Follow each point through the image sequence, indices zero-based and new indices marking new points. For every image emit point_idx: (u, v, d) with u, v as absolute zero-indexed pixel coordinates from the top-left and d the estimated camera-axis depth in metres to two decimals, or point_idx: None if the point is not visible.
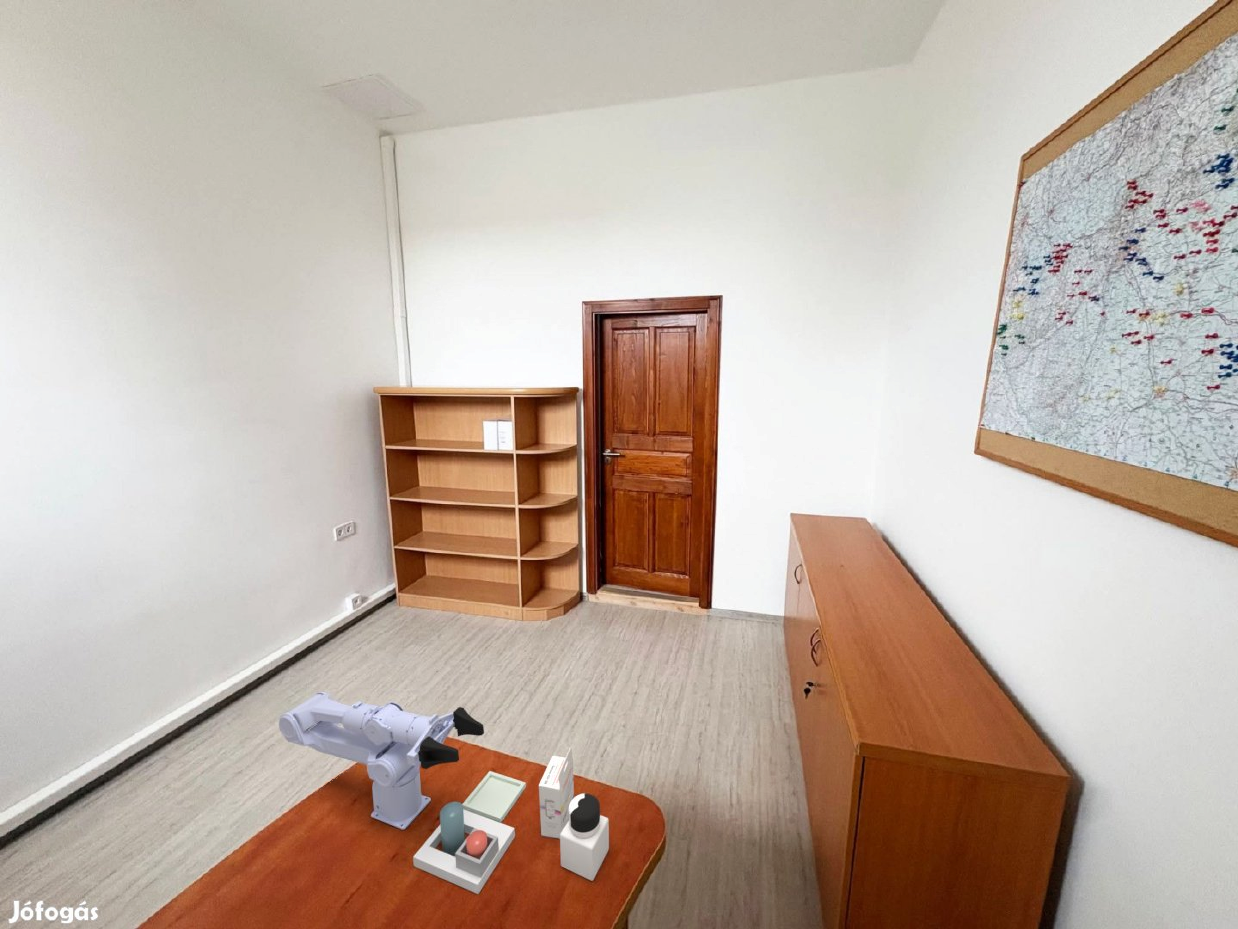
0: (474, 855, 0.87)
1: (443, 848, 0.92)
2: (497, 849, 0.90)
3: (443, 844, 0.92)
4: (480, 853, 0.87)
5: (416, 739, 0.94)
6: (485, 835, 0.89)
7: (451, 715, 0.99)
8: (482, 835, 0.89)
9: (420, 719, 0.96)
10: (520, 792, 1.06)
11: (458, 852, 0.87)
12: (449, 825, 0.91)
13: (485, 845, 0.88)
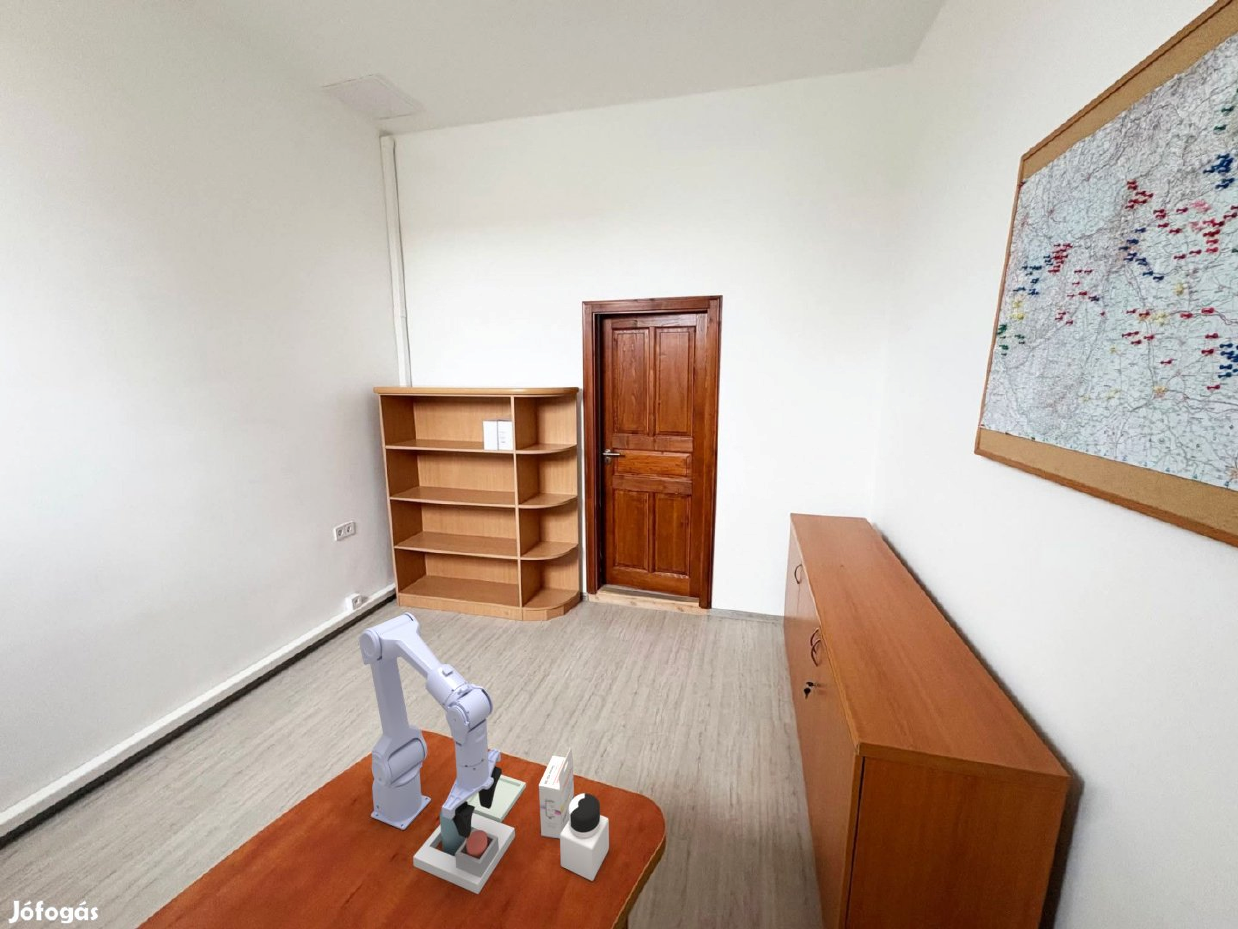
0: (474, 855, 0.87)
1: (443, 848, 0.92)
2: (497, 849, 0.90)
3: (443, 844, 0.92)
4: (480, 853, 0.87)
5: (465, 779, 0.84)
6: (485, 835, 0.89)
7: None
8: (482, 835, 0.89)
9: (484, 766, 0.85)
10: (520, 792, 1.06)
11: (458, 852, 0.87)
12: (449, 825, 0.91)
13: (485, 845, 0.88)
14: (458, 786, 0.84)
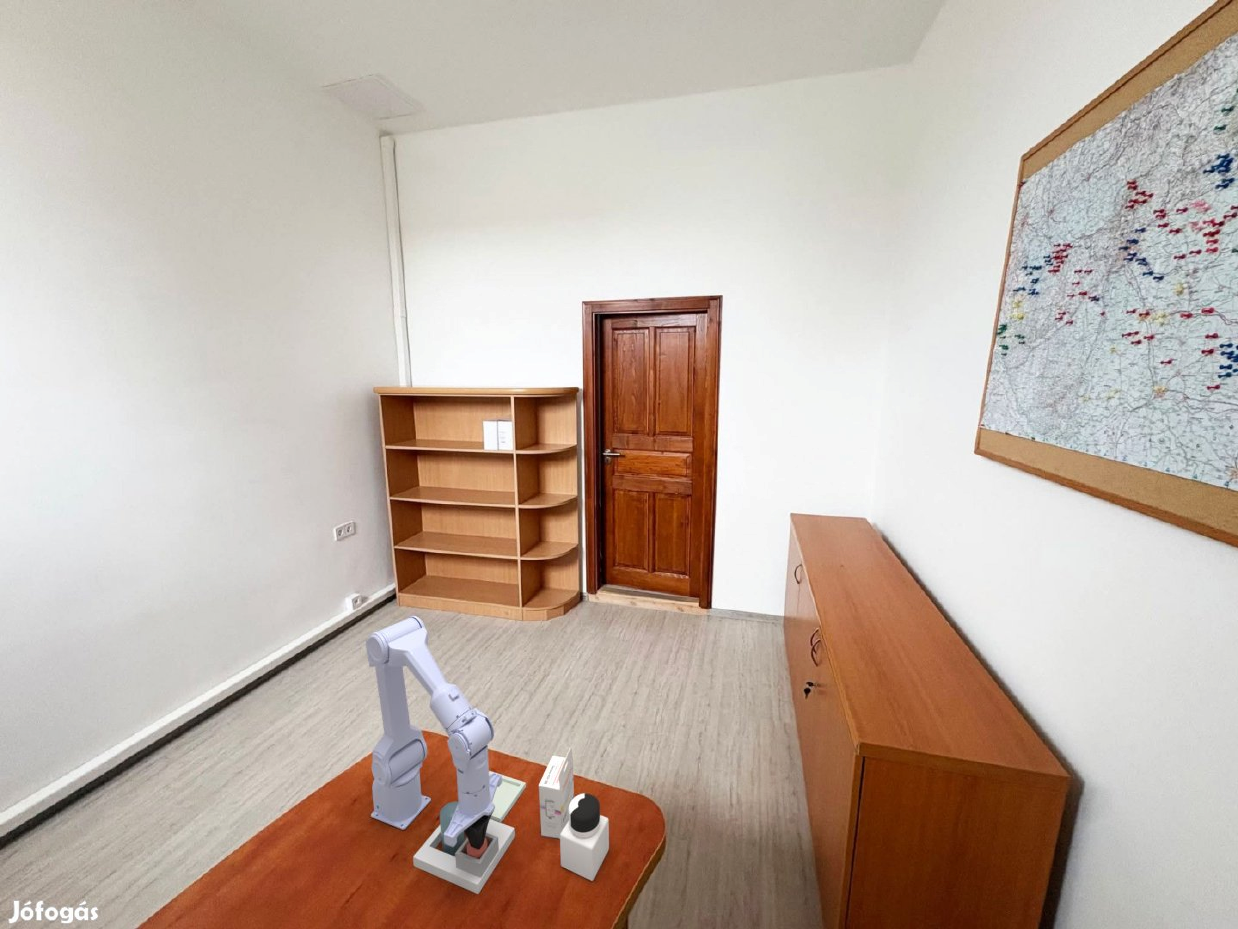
0: None
1: (443, 848, 0.92)
2: (497, 849, 0.90)
3: (443, 844, 0.92)
4: None
5: (466, 806, 0.84)
6: (485, 841, 0.89)
7: None
8: None
9: (486, 792, 0.86)
10: (520, 792, 1.06)
11: (458, 852, 0.87)
12: None
13: None
14: (459, 812, 0.85)
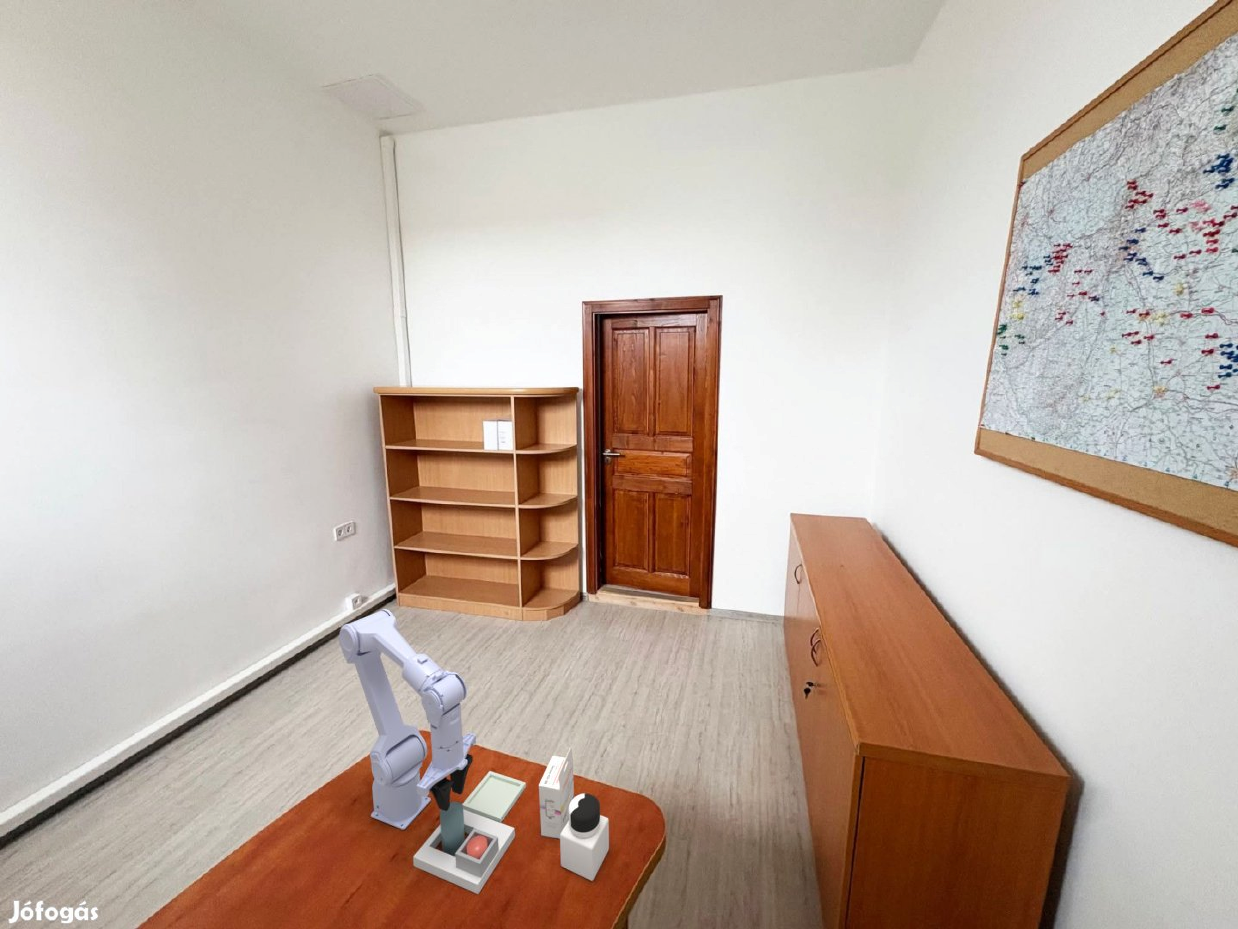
0: None
1: (443, 848, 0.92)
2: (497, 849, 0.90)
3: (443, 844, 0.92)
4: None
5: (439, 760, 0.88)
6: (485, 841, 0.89)
7: None
8: (482, 841, 0.89)
9: (458, 748, 0.89)
10: (520, 792, 1.06)
11: (458, 852, 0.87)
12: (449, 825, 0.91)
13: None
14: (433, 767, 0.89)
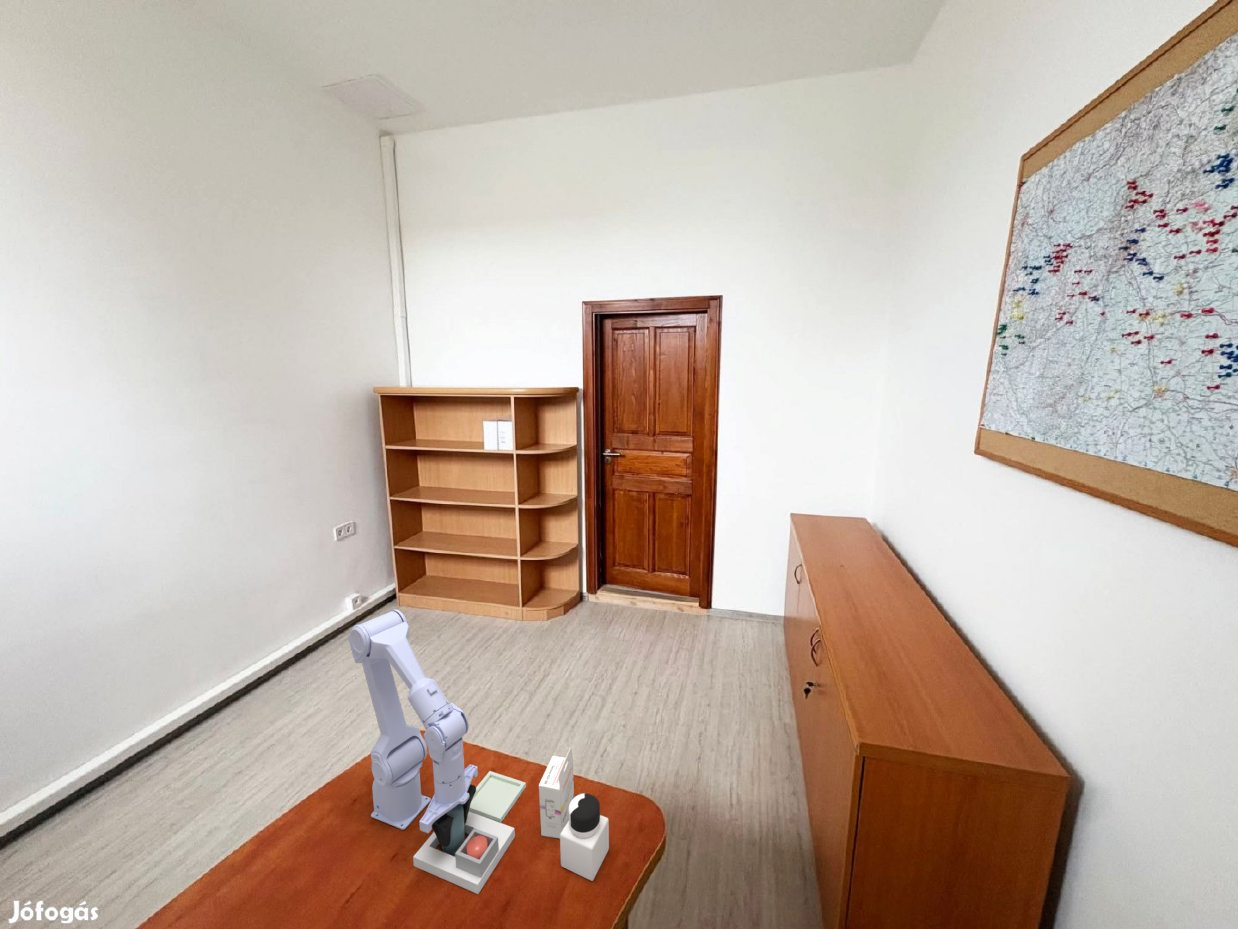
0: None
1: (443, 848, 0.92)
2: (497, 849, 0.90)
3: None
4: None
5: (442, 795, 0.89)
6: (485, 841, 0.89)
7: None
8: (482, 841, 0.89)
9: (460, 782, 0.90)
10: (520, 792, 1.06)
11: (458, 852, 0.87)
12: None
13: None
14: (435, 801, 0.90)
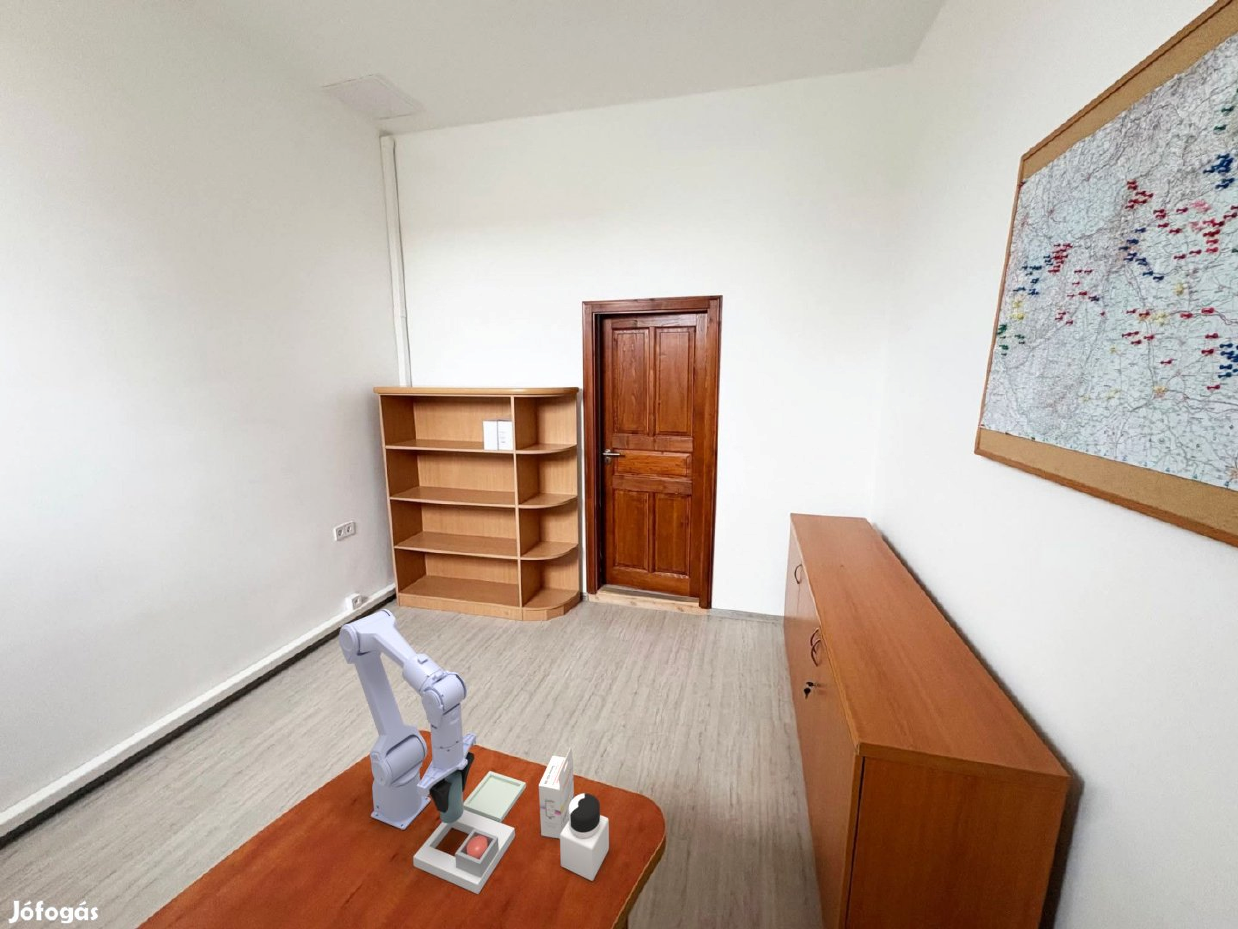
0: None
1: (441, 815, 0.91)
2: (497, 849, 0.90)
3: None
4: None
5: (439, 760, 0.88)
6: (485, 841, 0.89)
7: None
8: (482, 841, 0.89)
9: (458, 748, 0.90)
10: (520, 792, 1.06)
11: (458, 852, 0.87)
12: None
13: None
14: (433, 767, 0.89)
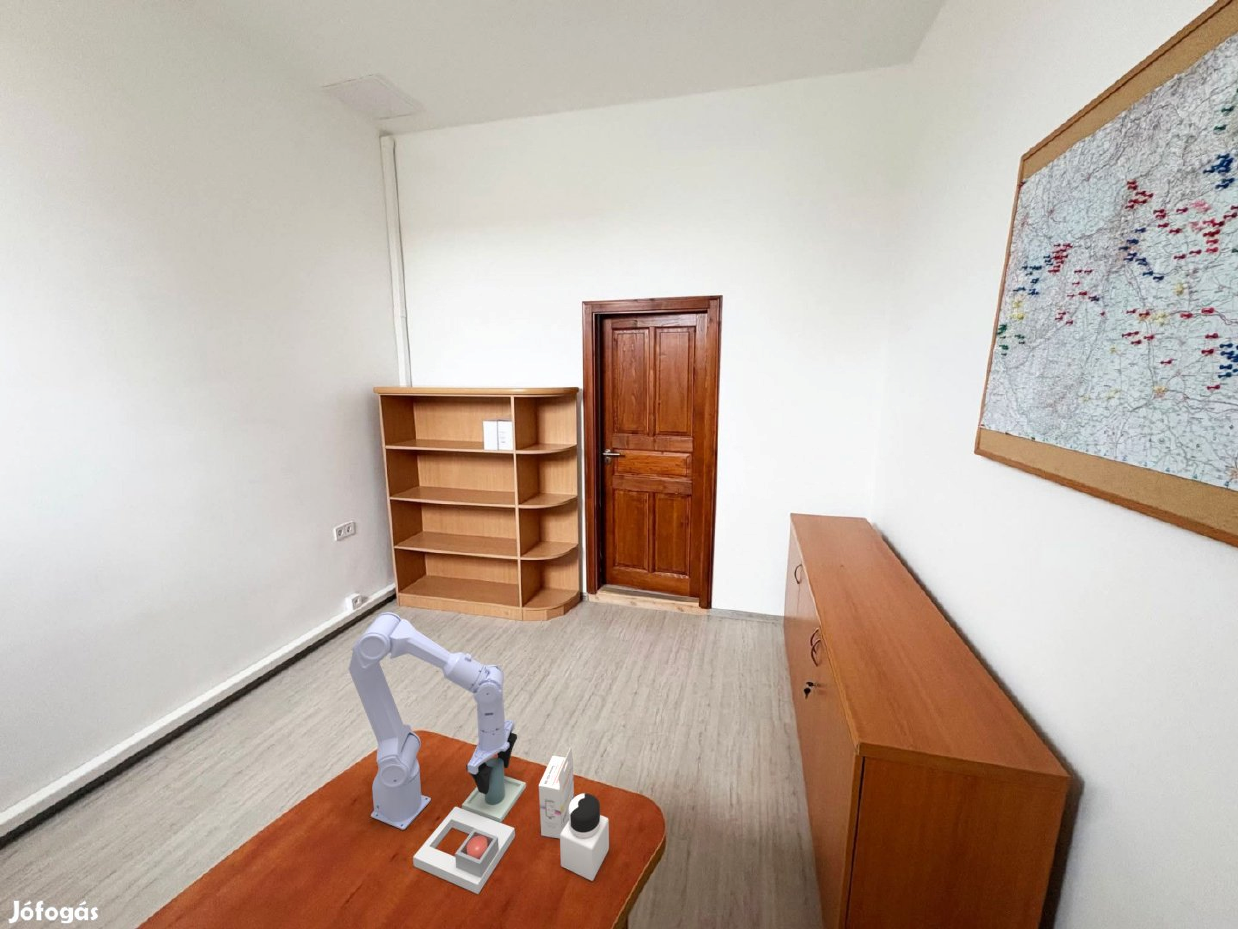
0: None
1: (487, 798, 1.03)
2: (497, 849, 0.90)
3: (486, 794, 1.03)
4: None
5: (486, 742, 1.00)
6: (485, 841, 0.89)
7: None
8: (482, 841, 0.89)
9: (502, 732, 1.01)
10: (520, 792, 1.06)
11: (458, 852, 0.87)
12: (492, 776, 1.02)
13: None
14: (480, 749, 1.01)
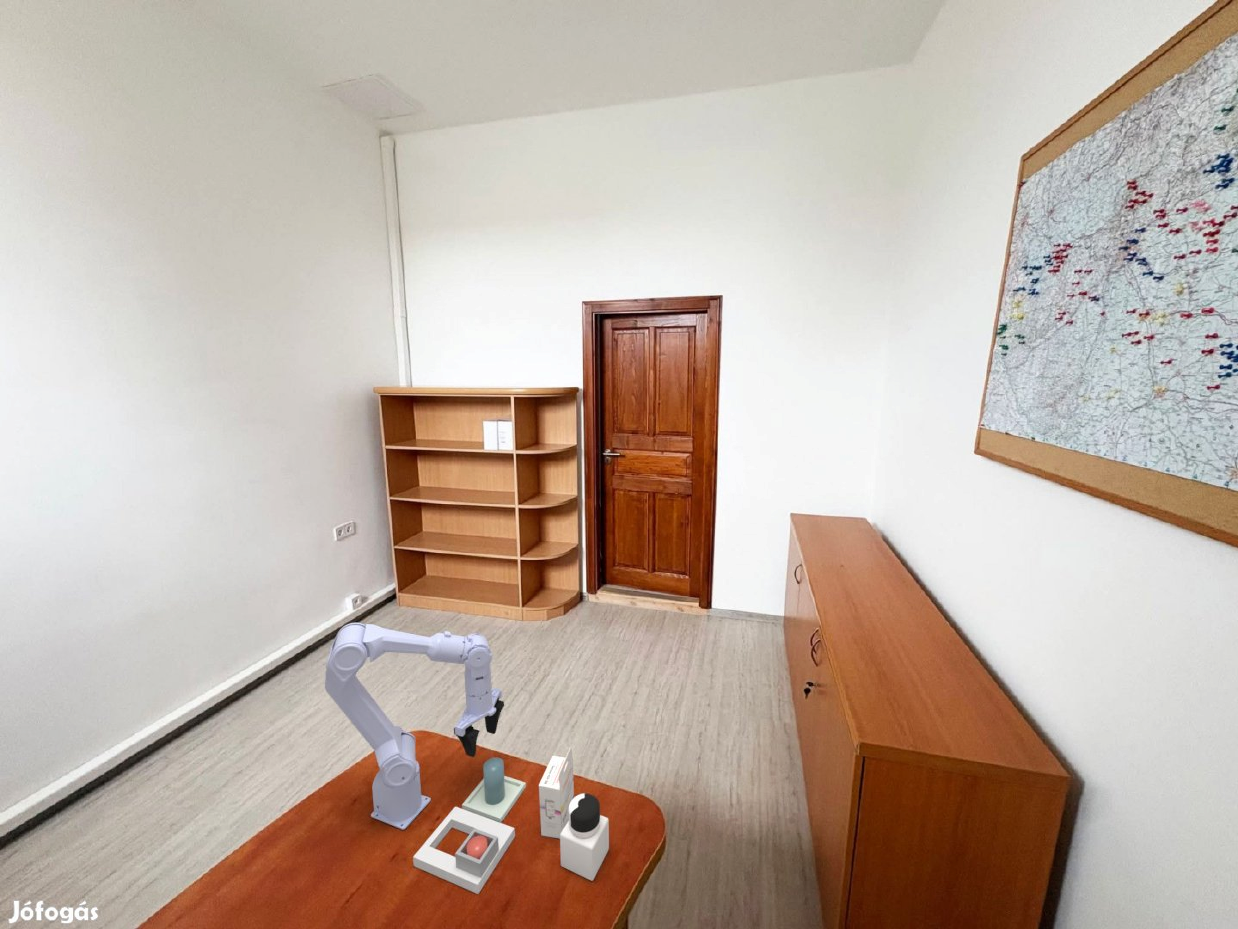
0: None
1: (487, 798, 1.03)
2: (497, 849, 0.90)
3: (486, 794, 1.03)
4: None
5: (473, 707, 1.03)
6: (485, 841, 0.89)
7: None
8: (482, 841, 0.89)
9: (488, 697, 1.05)
10: (520, 792, 1.06)
11: (458, 852, 0.87)
12: (492, 777, 1.02)
13: None
14: (467, 713, 1.04)
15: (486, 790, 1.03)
